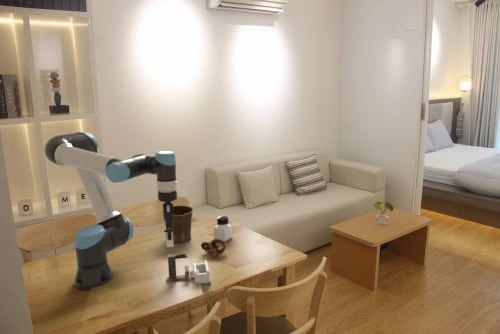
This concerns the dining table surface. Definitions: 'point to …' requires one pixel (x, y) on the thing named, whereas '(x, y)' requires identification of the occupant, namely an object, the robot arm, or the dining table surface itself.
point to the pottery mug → (213, 247)
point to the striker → (173, 270)
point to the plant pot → (181, 223)
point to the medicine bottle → (222, 229)
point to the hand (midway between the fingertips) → (169, 240)
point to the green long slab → (202, 273)
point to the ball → (193, 273)
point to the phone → (180, 256)
